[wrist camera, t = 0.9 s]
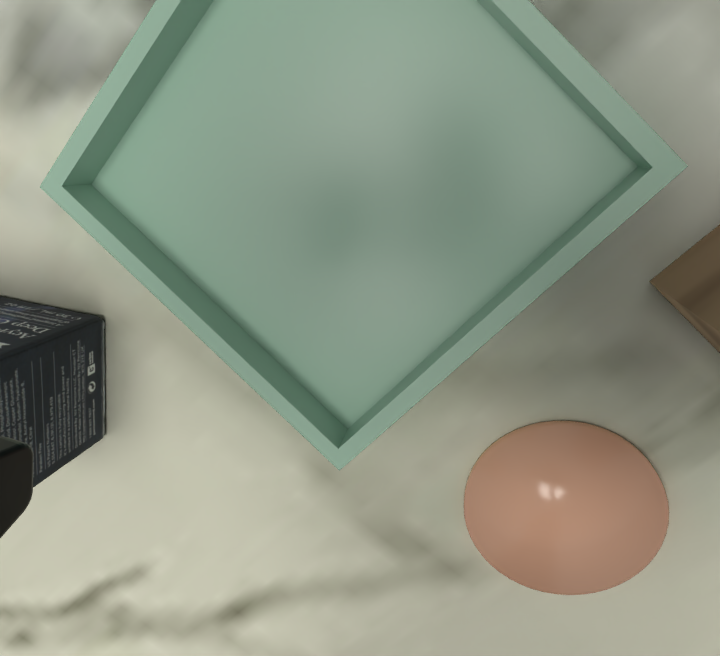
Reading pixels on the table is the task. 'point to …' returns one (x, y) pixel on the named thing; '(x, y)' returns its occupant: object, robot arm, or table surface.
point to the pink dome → (565, 507)
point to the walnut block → (696, 286)
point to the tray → (353, 187)
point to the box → (51, 382)
